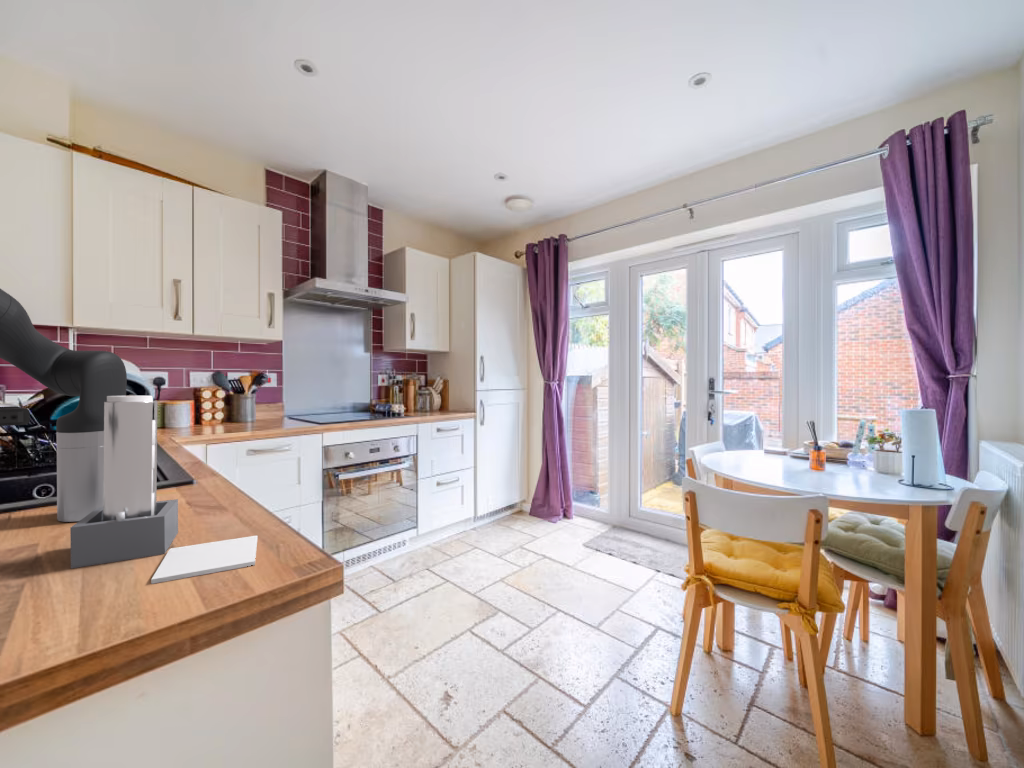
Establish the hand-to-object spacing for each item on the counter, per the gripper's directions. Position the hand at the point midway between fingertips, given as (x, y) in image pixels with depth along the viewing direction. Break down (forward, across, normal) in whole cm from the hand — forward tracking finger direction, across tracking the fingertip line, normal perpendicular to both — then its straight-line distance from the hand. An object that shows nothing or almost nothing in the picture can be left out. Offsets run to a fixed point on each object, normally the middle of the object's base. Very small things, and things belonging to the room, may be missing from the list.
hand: (24, 414), depth 60 cm
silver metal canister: (+11, 0, +23) cm, 25 cm away
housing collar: (+11, 0, +22) cm, 25 cm away
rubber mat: (+18, -15, +22) cm, 32 cm away
